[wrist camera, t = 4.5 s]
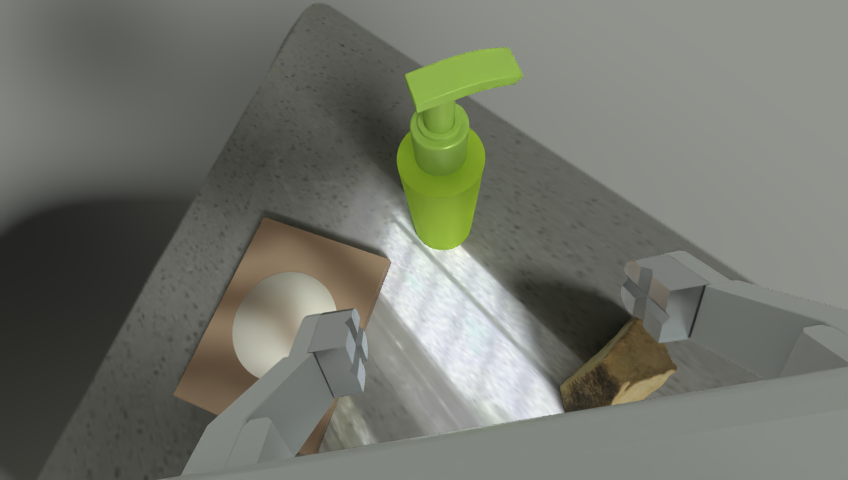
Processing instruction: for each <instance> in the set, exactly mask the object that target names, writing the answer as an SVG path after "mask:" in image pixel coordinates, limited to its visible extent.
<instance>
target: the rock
mask: <svg viewBox="0 0 848 480" xmlns="http://www.w3.org/2000/svg"><path fill="white" fill-rule="evenodd" d="M642 325H643V320H642V319H639V318H637V317H635V316H634V317H632V318H631V319H630V320H629V321H628V322H627V323H626V324H625V325H624V326H623V327H622V329H621V330H620V331H619V332H618V333H617V334H616V335H615V336H614V337H613V338H612V339H611V340H610V341H609V342H608V343H607V344H606V345H605V346H604V347H603V348H602V349H601V350H600V351H599V352H598V353H597V354H596V355H594V356H592V357H591V358H590V359H589V360H588V361H587V362H586V363H585V364H583V365H582V366H581V367H580V368H579V369H578V370H577V371H576V372H575V373H574V375H573V376H571V377H569V378H567V379H566V380H565V381H564V382H563V383H562V385H561V386H560V391H561V396H562V400H563V404H564V407H565V411H566V413H567V412H573V411H579V410H585V409H591V408H597V407H604V406H610V405H616V404H622V403H628V402H634V401H640V400H643V399H644V398H646V397H647V396H648V395H649V394H650V393H651V392H653V391H655V390H656V389H658V388H660V387H661V386H662V385H663V383H664V382H665V381H666V380H667V378H668V377H669V375H671V374H673V373H675V372H676V370H677V366H676V365H675V364H674V363H673V361H672V360H671V358H670V356H669V354H668V350H667V348H666V345H665V343H664V342H663V343H658V342H657V341H656V340H655V339H654V338H653V337H652V336H651V335H650V334H649V333H648V332H647V331H646V330H645V328H644V327H643V326H642Z"/></svg>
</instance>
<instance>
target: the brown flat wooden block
mask: <svg viewBox="0 0 848 480" xmlns="http://www.w3.org/2000/svg"><path fill="white" fill-rule="evenodd" d="M390 264H391V262H390V260H389V259H387V258H384V257H381V256H378V255H375V254H372V253H369V252H366V251H363V250H360V249H357V248H354V247H351V246H348V245H345V244H342V243H339V242H337V241H334V240H331V239H328V238H325V237H322V236H319V235H316V234H313V233H310V232H307V231H304V230H301V229H298V228H295V227H292V226H289V225H286V224H283V223H280V222H278V221H275V220H272V219H269V218H266V217H264V218H263V220H262V222H261V224H260V226H259V228H258V229H257V231H256V233H255V235H254V237H253V239H252V241H251V243H250V245H249V247H248V249H247V251H246V253H245V255H244V257H243V259H242V261H241V263H240V265H239V267H238V269H237V271H236V273H235V274H234V276H233V278H232V280H231V282H230V284H229V286H228V288H227V290H226V292H225V294H224V296H223V298H222V300H221V302H220V304H219V306H218V308H217V310H216V312H215V314H214V316H213V318H212V319H211V321H210V323H209V325H208V327H207V329H206V331H205V333H204V335H203V337H202V339H201V341H200V343H199V345H198V347H197V349H196V351H195V353H194V355H193V357H192V359H191V361H190V362H189V364H188V366H187V368H186V370H185V372H184V374H183V376H182V378H181V380H180V382H179V384H178V386H177V388H176V390H175V392H174V394H173V395H174V396H176V397H178V398H180V399H183V400H185V401H187V402H189V403H191V404H194V405H196V406H198V407H200V408H202V409H204V410H207V411H209V412H211V413H213V414H215V415H218V416H219V415H220V414H221V413H222V412H223V411H224V410H225V409H226V408H228V407H229V406H230V405H231V404H232V403H233V402H234V401H235V400H236V399H238V398H239V397H240V396H241V395H242V394H243V393H244V392H245V391H246V390H248V389H249V388H250V387H251V386H252V385H253V384H254V383H255V382H257V381H258V380H259V379H260V378H261V377H262V376H263V375H264V374H265V373H267V372H268V371H269V370H270V369H271V368H272V367H273V366H274V365H275V364H277V363H278V362H279V361H280V360H281V359H282V358H284V357H288V356H289V353H290V351H291V348H292V346H293V343H294V340H295V338H296V335H297V333H298V330H299V328H300V325H301V322H302V320H303V318H304V317H305V316H307V315H313V314H319V313H324V312H331V311H338V310H344V309H351V308H355V309H356V310H357V312H358V314H359V317H360V321H359V326H360V327H361V328H362V329H364V331H365V329H366V326H367V324H368V321H369V318H370V316H371V313H372V311H373V308H374V306H375V303H376V300H377V298H378V295H379V293H380V290H381V288H382V285H383V282H384V280H385V277H386V275H387V272H388V269H389V267H390ZM338 398H339V397H338ZM338 398H334V401H333V402H332V404H331V405H330V407H329V408H328V410H327V411H326V413H325V414H324V415H323V417H322V418H321V420H320V421H319V423H318V424H317V426H316V427H315V428H314V430H313V431H312V433H311V434H310V436H309V437H308V439H307V440H306V441H305V443H304V444H303V446H302V447H301V449H300V450H299V452H298V453H300V454H303V455H310V454H316V453H317V452H318V450H319V447H320V444H321V442H322V439H323V437H324V434H325V432H326V429H327V426H328V424H329V421H330V419H331V416H332V414H333V411H334V408H335V406H336V403H337V401H338Z"/></svg>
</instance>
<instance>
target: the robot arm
mask: <svg viewBox="0 0 848 480" xmlns="http://www.w3.org/2000/svg"><path fill="white" fill-rule="evenodd" d="M624 273H625V275H626V276H627V277H628V279H627V280H626V281H625V282H624V283H623V285H622V292H621V295H622V299H623V303H624V305H625V307H626V308H627V310H628V311H629V312H630V313H631V314H632V316H635V317H637V318H639V319H642V320H643V325H642V326H643V327H644V328H645V330H646V331H647V332H648V333H649V334H650V335H651V336H652V337H653V338H654V339H655V340H656V341H657V342H658V343H663V342H670V341H677V340H685V339H690V341H692V342H694V343H696V344H698V345H700V346H702V347H704V348H706V349H707V350H709V351H711V352H713V353H715V354H717V355H719V356H721V357H723V358H725V359H727V360H728V361H730V362H732V363H734V364H736V365H738V366H740V367H742V368H744V369H746V370H748V371H750V372H751V373H753V374H755V375H757V376H759V377H761V378H763V379H765V380H762V381H756V382H750V383H744V384H738V385H732V386H726V387H720V388H713V389H707V390H701V391H695V392H689V393H683V394H677V395H671V396H665V397H658V398H652V399H646V400H640V401H634V402H628V403H622V404H616V405H610V406H604V407H597V408H591V409H585V410H579V411H573V412H567V413H561V414H555V415H549V416H542V417H536V418H530V419H524V420H518V421H512V422H506V423H500V424H494V425H487V426H481V427H475V428H469V429H463V430H457V431H451V432H445V433H439V434H433V435H426V436H420V437H414V438H408V439H402V440H396V441H390V442H384V443H378V444H372V445H365V446H359V447H353V448H347V449H341V450H335V451H329V452H323V453H317V454H310V455H304V456H298V457H295V456H296V454H297V453H298V452H299V450H300V449H301V447H302V446H303V444H304V443H305V441H306V440H307V439H308V437H309V436H310V434H311V433H312V431H313V430H314V428H315V427H316V426H317V424H318V423H319V421H320V420H321V418H322V417H323V415H324V414H325V413H326V411H327V410H328V408H329V407H330V405H331V404H332V402H333V401H334V398H338V397H343V396H348V395H353V394H358V393H363V390H364V382H365V374H366V373H365V370H364V367H363V365H364V363H365V362H366V361H367V355H368V349H367V340H366V335H365V332H364V329H362V328H361V327H360V326H359V321H360V317H359V314H358V312H357V310H356V309H355V308H351V309H344V310H338V311H331V312H324V313H319V314H313V315H307V316H305V317H304V318H303V320H302V322H301V325H300V328H299V330H298V333H297V335H296V338H295V340H294V343H293V346H292V348H291V351H290V353H289V356H288V357H284V358H282V359H281V360H280V361H279V362H278V363H277V364H275V365H274V366H273V367H272V368H271V369H270V370H269V371H268V372H267V373H265V374H264V375H263V376H262V377H261V378H260V379H259V380H258V381H257V382H255V383H254V384H253V385H252V386H251V387H250V388H249V389H248V390H246V391H245V392H244V393H243V394H242V395H241V396H240V397H239V398H238V399H236V400H235V401H234V402H233V403H232V404H231V405H230V406H229V407H228V408H226V409H225V410H224V411H223V412H222V413H221V414H220V415H219V416H217V417H216V418H215V419H214V420H213V421H212V422H211V423H210V424H209V425H208V426H207V427H206V429H205V431H204V433H203V435H202V437H201V439H200V440H199V442H198V444H197V446H196V448H195V450H194V452H193V453H192V455H191V457H190V459H189V461H188V463H187V465H186V466H185V468H184V470H183V472H182V474H181V476H177V477H170V478H164V479H158V480H848V310H846V309H842V308H838V307H835V306H831V305H827V304H823V303H820V302H816V301H812V300H809V299H805V298H801V297H797V296H794V295H790V294H787V293H783V292H779V291H775V290H771V289H768V288H764V287H761V286H757V285H753V284H750V283H746V282H742V281H738V280H735V281H731V280H729V279H727V278H726V277H724V276H723V275H721V274H720V273H718V272H717V271H715V270H714V269H712V268H711V267H709V266H707V265H706V264H704V263H703V262H701V261H700V260H698V259H697V258H695V257H694V256H692V255H690V254H689V253H687V252H684V251H676V252H671V253H666V254H662V255H659V256H653V257H647V258H642V259H636V260H630V261H628V262H627V263H626V265H625V269H624Z"/></svg>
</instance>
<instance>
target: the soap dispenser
mask: <svg viewBox="0 0 848 480" xmlns="http://www.w3.org/2000/svg"><path fill="white" fill-rule="evenodd" d="M522 77H523V74H522V72H521V70H520V68H519V66H518V64H517V62H516V60H515V58H514V56H513V54H512V52H511V50H510V49H509V48H507V47H502V48H490V49H483V50H476V51H472V52H467V53H463V54H460V55H457V56H453V57H450V58H447V59H444V60H441V61H438V62H436V63H433V64H430V65H428V66H425V67H422V68H420V69H417V70H415V71H412V72H410V73H407V74H405V80H406V85H407V87H408V90H409V93H410V95H411V98H412V101H413V103H414V106H415V109H416V111H415V112H414V114H413V115H412V118H411V121H410V132H409V133H408V134H407V135H406V136H405V137H404V138H403V140H402V142H401V143H400V146H399V148H398V152H397V167H398V171H399V174H400V178H401V181H402V185H403V188H404V192H405V195H406V199H407V202H408V206H409V209H410V213H411V216H412V220H413V223H414V227H415V230H416V233H417V235H418V237H419V238H420V240H421V241H422V242H423V243H424V244H426V245H427V246H429V247H431V248H433V249H437V250H448V249H452V248H455V247H457V246H458V245H460V244H461V243H462V242H463V241H464V240H465V239H466V238H467V236H468V235H469V232H470V229H471V225H472V220H473V215H474V211H475V206H476V202H477V197H478V192H479V188H480V183H481V178H482V174H483V169H484V164H485V151H484V147H483V144H482V142H481V140H480V139H479V137H478V136H477V134H476V133H475V132H474V131H473V130H472V129H470V128H469V119H468V116H467V114H466V112H465V110H464V109H463V108H462V107H461V106H460V105H458V104H456V103H455V100H456V99H459V98H462V97H465V96H468V95H471V94H473V93H477V92H480V91H483V90H487V89H490V88H496V87H500V86H507V85H513V84H515V83H516V82H518V81H519V80H520V79H521V78H522Z"/></svg>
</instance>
